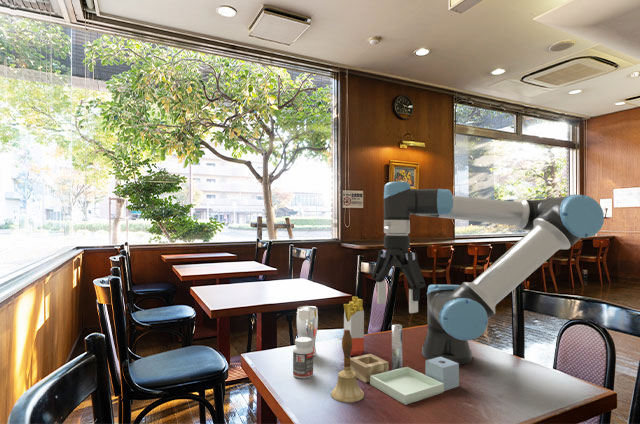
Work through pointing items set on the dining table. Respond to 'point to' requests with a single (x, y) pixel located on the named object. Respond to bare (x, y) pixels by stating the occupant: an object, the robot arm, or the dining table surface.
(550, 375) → the dining table surface
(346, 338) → the hand bell
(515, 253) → the robot arm
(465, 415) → the dining table surface
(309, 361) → the pill bottle
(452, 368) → the slate-blue block
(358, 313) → the french fries container
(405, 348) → the dining table surface
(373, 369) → the oak block
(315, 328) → the beer glass
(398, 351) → the cylinder
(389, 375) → the tray
